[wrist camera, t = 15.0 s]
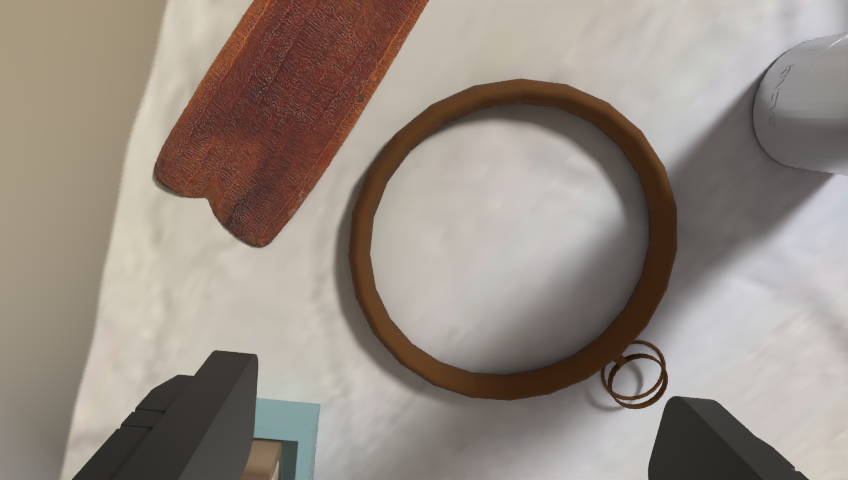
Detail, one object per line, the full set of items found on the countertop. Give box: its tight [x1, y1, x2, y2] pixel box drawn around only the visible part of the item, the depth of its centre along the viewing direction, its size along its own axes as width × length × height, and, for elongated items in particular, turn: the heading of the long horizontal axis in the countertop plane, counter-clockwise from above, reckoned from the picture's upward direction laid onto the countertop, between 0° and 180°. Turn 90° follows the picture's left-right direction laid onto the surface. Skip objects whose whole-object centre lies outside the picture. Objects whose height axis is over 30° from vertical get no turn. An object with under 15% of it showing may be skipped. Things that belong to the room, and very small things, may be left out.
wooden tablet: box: [154, 0, 429, 247], centre depth 34 cm, size 27×10×2 cm, turn 144°
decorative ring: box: [348, 79, 677, 409], centre depth 38 cm, size 24×3×30 cm
